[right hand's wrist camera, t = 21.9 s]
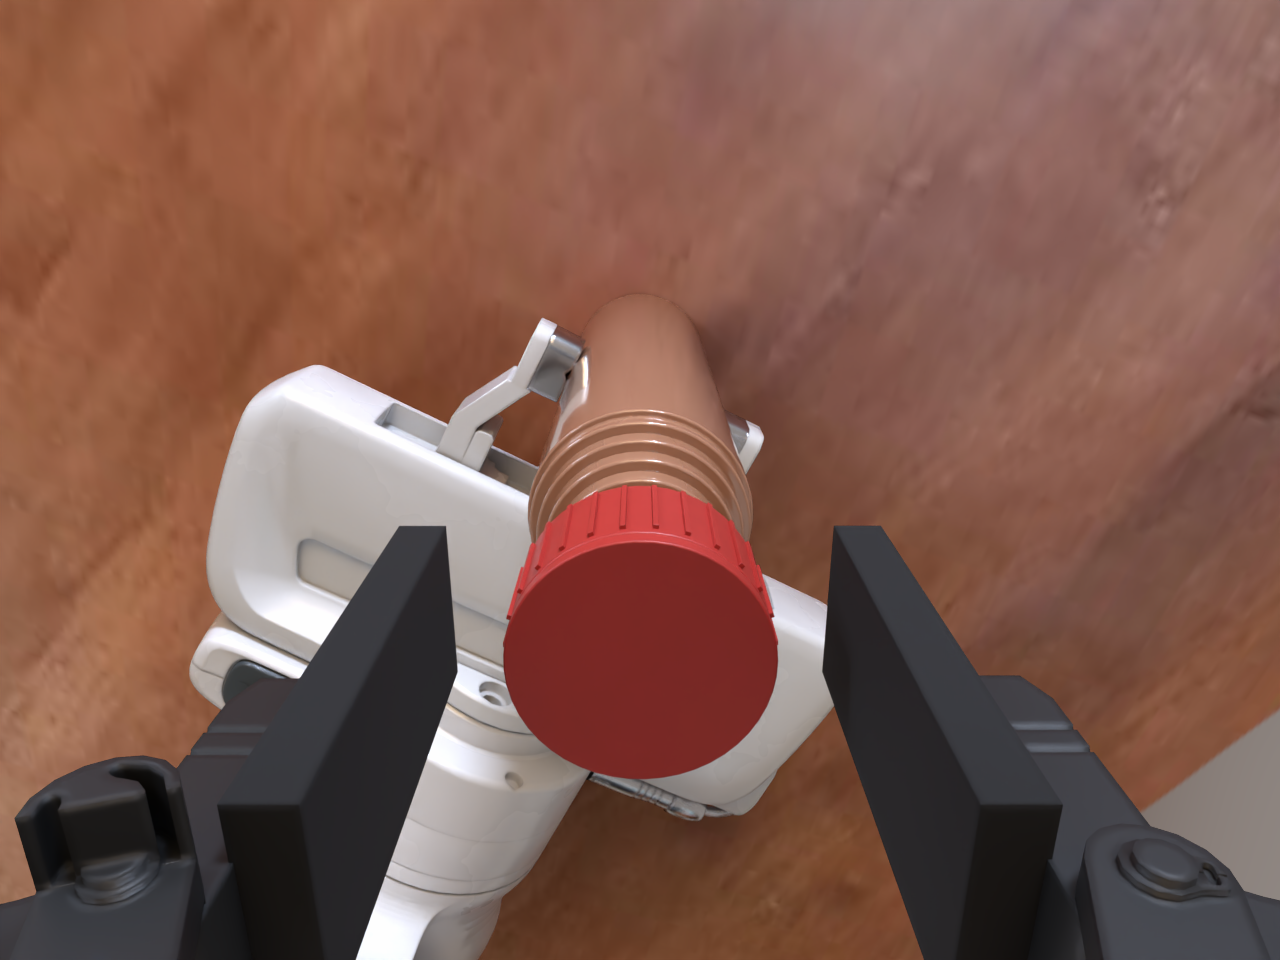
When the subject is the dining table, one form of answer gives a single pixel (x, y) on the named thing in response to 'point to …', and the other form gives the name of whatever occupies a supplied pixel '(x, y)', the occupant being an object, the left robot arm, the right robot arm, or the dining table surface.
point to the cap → (640, 635)
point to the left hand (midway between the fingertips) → (652, 376)
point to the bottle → (640, 418)
